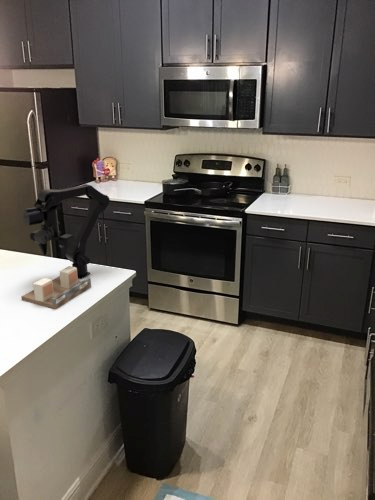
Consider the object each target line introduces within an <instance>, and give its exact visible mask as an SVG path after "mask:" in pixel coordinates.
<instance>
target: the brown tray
mask: <svg viewBox="0 0 375 500" xmlns="http://www.w3.org/2000/svg"><path fill="white" fill-rule="evenodd" d="M51 280H52V282H53V292H54V296H53V297H51V298H49V299H48V300H46V301H44V302H41V301H37V300H35V294H34V289H32V290H31V291H29V292H26V293H25V294H23V295H21V301H25V302H29V303H31V304H36V305H38V306H43V307H45V308H46V307H47V308H50V309H53V310H57V309H58V308H60V307H61V306H63V305H64V304H66V303H68V302H69V301H71V300H73V299H74V298H76V297H78V296H79V295H80V294H83V293H84V292H85V291H87V290H89V289H90V288H92V279H91V277H87V278H84V280H82V281H81V280H78V283H77V284H76V285H74V286H72V287H71V288H69V289H68V288H64V287H61V281H60V275H59V276H57V277H55V278H53V279H51Z"/></svg>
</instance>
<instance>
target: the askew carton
mask: <svg viewBox="0 0 375 500" xmlns="http://www.w3.org/2000/svg"><path fill="white" fill-rule="evenodd" d="M59 276H60V281H61V287H64V288H68V289H69V288H71V287H72V286H74V285H76V284H77V283H78V281H79V278H78V276H77V268H76V267H72V266H70V265H69V266H67V267H64V268H63V269H61V270H59Z"/></svg>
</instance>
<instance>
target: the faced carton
mask: <svg viewBox="0 0 375 500" xmlns="http://www.w3.org/2000/svg"><path fill="white" fill-rule="evenodd" d="M52 280H53V279H50V278H46V277H43V278H41V279H39V280H37V281H35V282H34V283H33V284H32V285H33V290H34V294H35V300H37V301H41V302H44V301H46V300H48V299H49V298H51V297H53V296H54V292H53V282H52Z"/></svg>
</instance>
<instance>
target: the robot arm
mask: <svg viewBox="0 0 375 500" xmlns="http://www.w3.org/2000/svg"><path fill="white" fill-rule="evenodd" d="M37 196H38V197H37V199H36V200H35V203H34V204H33V207H29V208H28V207H27V208H24V211H23V213H22V221H23V224H24V225H25V226H26V227H30V226H34V225H39V224H40V229H37V230H34V231H31V232H30V233H29V239H30V240H31V241H32V242H34V243H36V244H38V246H39V249H41V252H42V254H43V256H46V255H47V250H48V242H49V241H50V242H51V241H52V240H55V241H57V242H58V246H59V248H60V255H61V259H64V258H65V257H66V258H67V260H69V262H71V265H72V266H71V267H76V268H77V276H78V279H85V277H88V276H90V275H91V272H89V271H88V265H89V264H90V262H91V259H90V258H89V257H88V256H86V253H87V242H88V241H89V239H90V236H91V234H92V232H93V230H94V228H95V226H96V224H97V222H98V220H99V217H100V215H102V214H103V213H104V212H105V211H106V210H107V208H108V207H109V205H110V203H111V200H110V197H109V196H108V195H107V194H103V193H102V192H100V191H99V190H97V189H96V188H95V187H94V186H93V185H90V184H88V183H83V184H82V185H78V186H77V185H76V186H72V187H66V188H63V189H53V188H52V189H51V188H50V189H42V190H40V191H39V193H38V195H37ZM82 196H85V197H87V198H88V199H89V203H88V204H89V205H88V207H89V208H88V209H89V210H88V212H87V213H86V216H85V219H84V220H83V223H82V225H81V227H80V229H79V232H78V233H77V236H76V238H75V236H74V235H73V234H68V233H65V234H63V235H62V232H61V231H60V230H59V226H60V225H61V222H59V220H58V210H62V207H61V206H60V205H59V204H61V202H63V201H65V200H69V199H74V198H78V197H82Z"/></svg>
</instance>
